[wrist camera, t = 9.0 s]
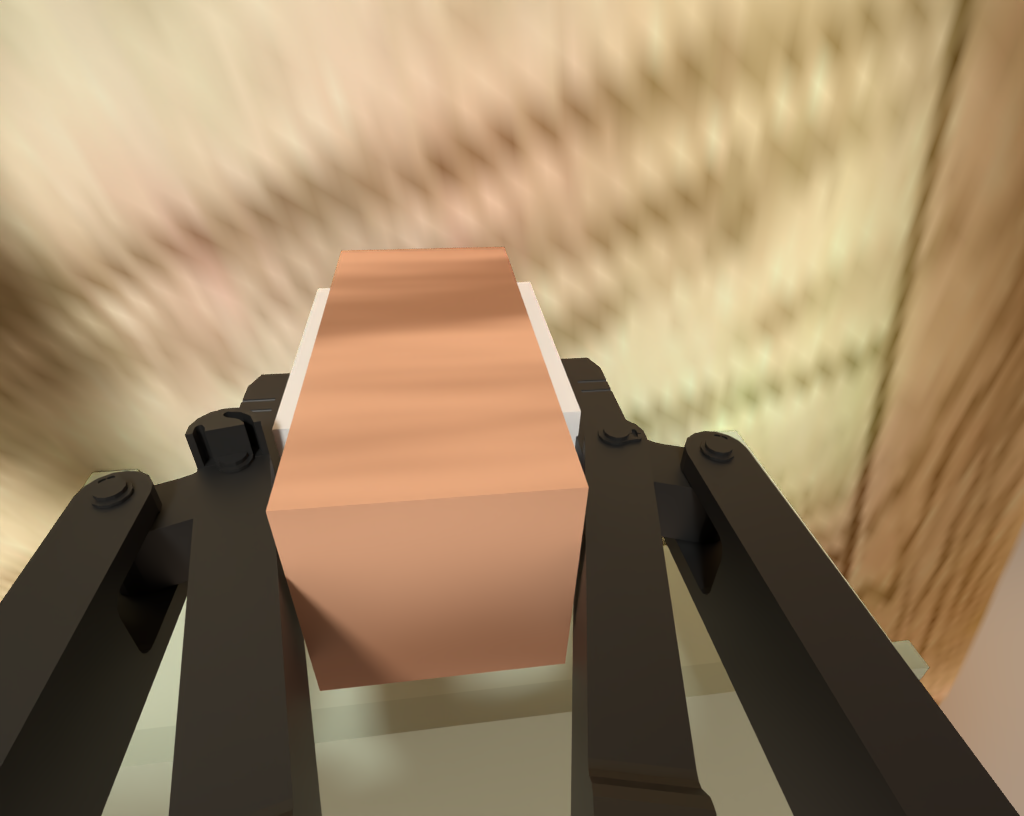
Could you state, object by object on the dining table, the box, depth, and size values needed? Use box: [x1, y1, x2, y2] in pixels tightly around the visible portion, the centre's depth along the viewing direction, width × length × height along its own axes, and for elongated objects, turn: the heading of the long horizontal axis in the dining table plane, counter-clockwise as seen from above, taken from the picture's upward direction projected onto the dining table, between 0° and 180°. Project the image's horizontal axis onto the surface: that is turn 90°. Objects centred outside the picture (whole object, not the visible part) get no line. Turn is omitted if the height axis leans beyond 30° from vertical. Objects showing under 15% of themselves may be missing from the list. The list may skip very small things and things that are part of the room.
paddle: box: [266, 247, 589, 691], centre depth 19 cm, size 22×4×10 cm, turn 179°
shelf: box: [82, 431, 929, 816], centre depth 21 cm, size 10×25×10 cm, turn 88°
